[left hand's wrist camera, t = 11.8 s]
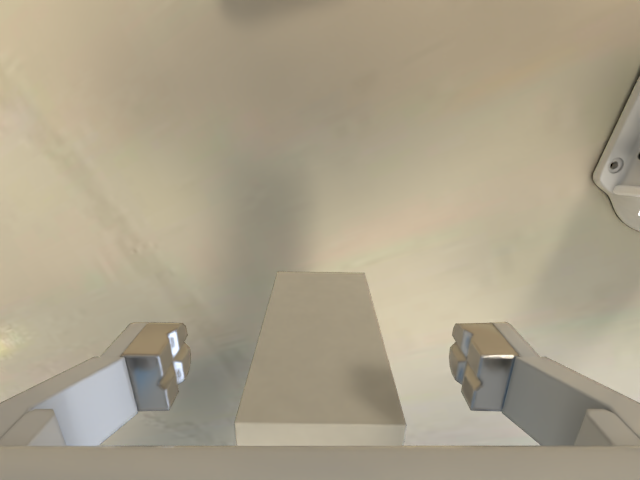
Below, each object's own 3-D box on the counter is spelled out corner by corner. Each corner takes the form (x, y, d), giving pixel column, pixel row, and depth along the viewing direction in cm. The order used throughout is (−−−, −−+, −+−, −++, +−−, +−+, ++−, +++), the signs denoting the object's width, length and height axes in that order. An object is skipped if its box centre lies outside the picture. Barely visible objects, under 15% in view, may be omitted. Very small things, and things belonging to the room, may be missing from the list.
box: (277, 271, 23) (233, 423, 11) (364, 272, 23) (407, 425, 11) (284, 499, 30) (263, 723, 19) (350, 500, 30) (366, 724, 19)
